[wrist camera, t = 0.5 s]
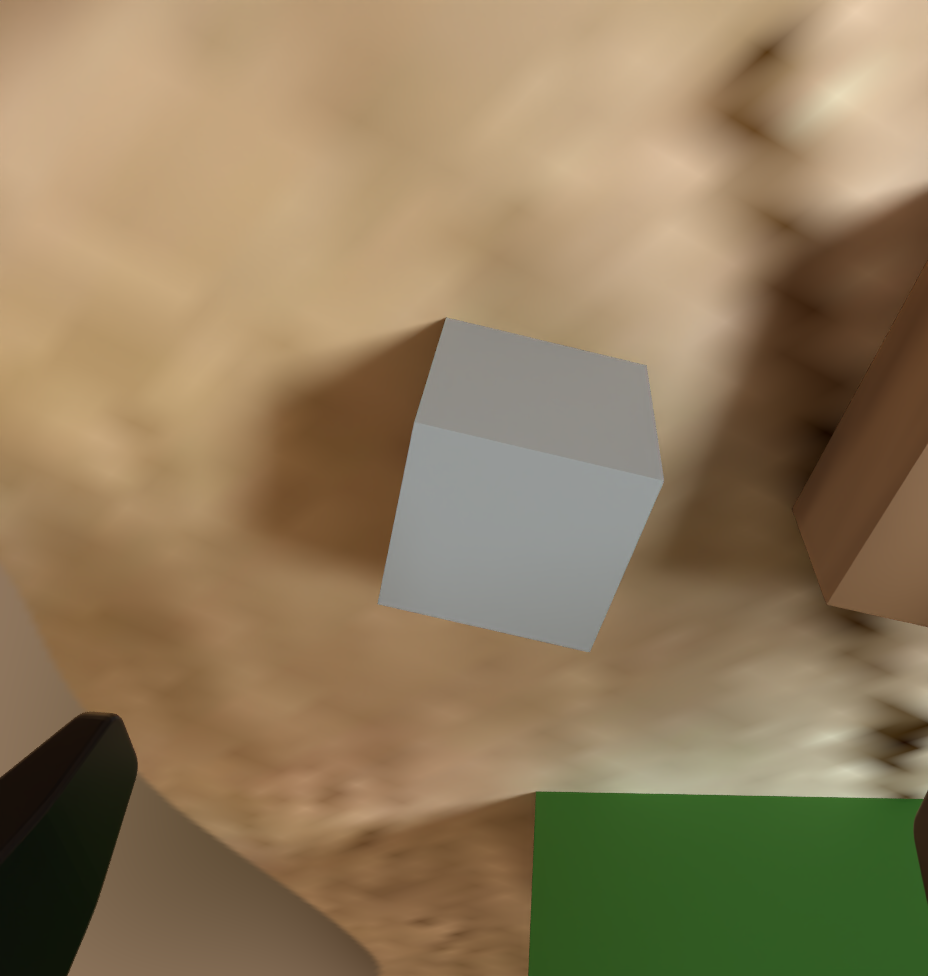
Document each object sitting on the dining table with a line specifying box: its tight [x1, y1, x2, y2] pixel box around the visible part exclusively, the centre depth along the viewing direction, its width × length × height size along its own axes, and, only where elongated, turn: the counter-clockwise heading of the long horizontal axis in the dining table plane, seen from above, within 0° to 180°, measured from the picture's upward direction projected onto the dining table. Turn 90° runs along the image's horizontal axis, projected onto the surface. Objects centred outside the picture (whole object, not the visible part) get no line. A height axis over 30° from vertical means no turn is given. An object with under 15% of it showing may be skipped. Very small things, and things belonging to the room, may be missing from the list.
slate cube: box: [378, 318, 664, 652], centre depth 20 cm, size 5×5×5 cm
